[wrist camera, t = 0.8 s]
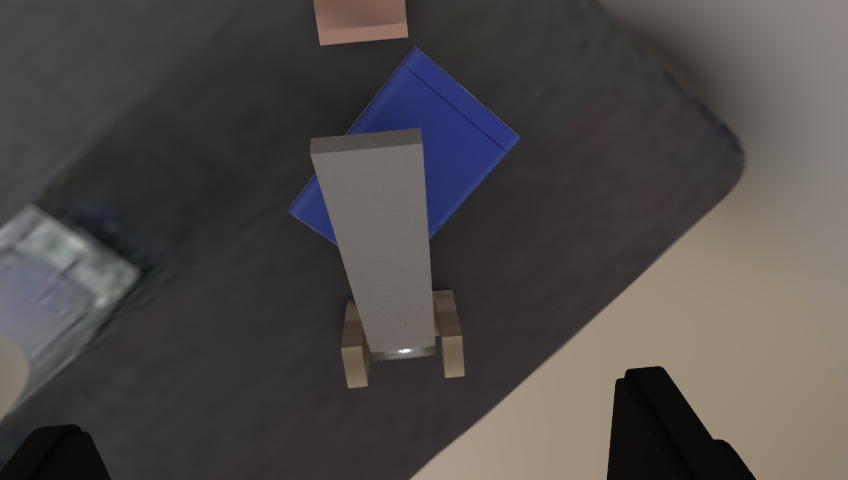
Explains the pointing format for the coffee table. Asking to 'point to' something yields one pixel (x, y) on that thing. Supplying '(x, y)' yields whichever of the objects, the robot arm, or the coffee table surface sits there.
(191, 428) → the coffee table surface
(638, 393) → the robot arm
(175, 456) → the coffee table surface
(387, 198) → the grey long flat bar
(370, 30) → the block
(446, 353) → the pivot bracket
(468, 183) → the hard drive
